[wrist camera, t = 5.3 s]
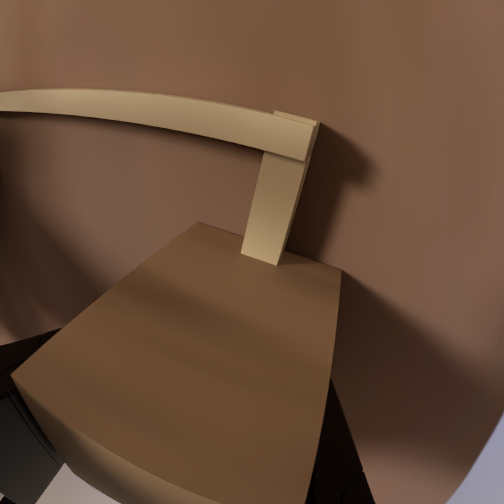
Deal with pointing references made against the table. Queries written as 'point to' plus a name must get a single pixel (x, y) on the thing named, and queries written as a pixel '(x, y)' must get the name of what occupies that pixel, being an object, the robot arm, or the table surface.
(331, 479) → the robot arm
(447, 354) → the table surface
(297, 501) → the wooden block with bar
